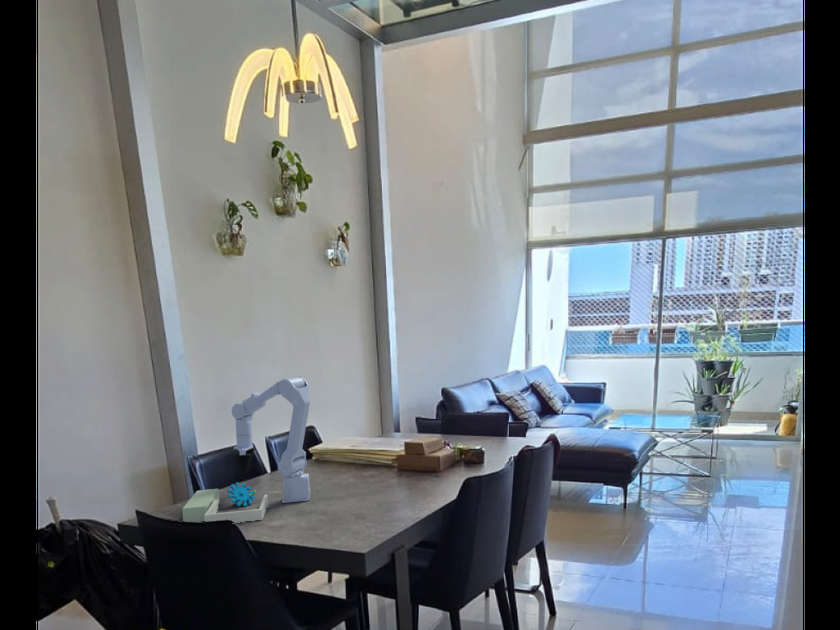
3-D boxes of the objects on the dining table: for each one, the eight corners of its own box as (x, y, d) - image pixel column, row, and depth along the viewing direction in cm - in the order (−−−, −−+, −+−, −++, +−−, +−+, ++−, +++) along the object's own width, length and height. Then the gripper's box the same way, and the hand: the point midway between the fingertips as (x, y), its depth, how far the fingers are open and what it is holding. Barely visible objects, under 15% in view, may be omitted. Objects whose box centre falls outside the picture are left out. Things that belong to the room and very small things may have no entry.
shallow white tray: (268, 504, 210) (267, 494, 210) (262, 520, 192) (261, 509, 192) (215, 509, 207) (214, 499, 207) (204, 526, 189) (204, 515, 189)
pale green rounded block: (220, 502, 216) (219, 488, 216) (208, 521, 194) (207, 506, 194) (198, 504, 215) (197, 490, 215) (183, 523, 193) (182, 508, 193)
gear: (233, 506, 204) (225, 482, 210) (226, 516, 207) (218, 492, 213) (261, 502, 212) (253, 479, 218) (255, 512, 215) (246, 489, 220)
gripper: (236, 432, 230) (238, 467, 230) (230, 438, 216) (232, 476, 216) (254, 430, 231) (256, 465, 231) (250, 437, 217) (252, 474, 217)
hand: (246, 470), depth 223 cm, fingers open, 7 cm apart
